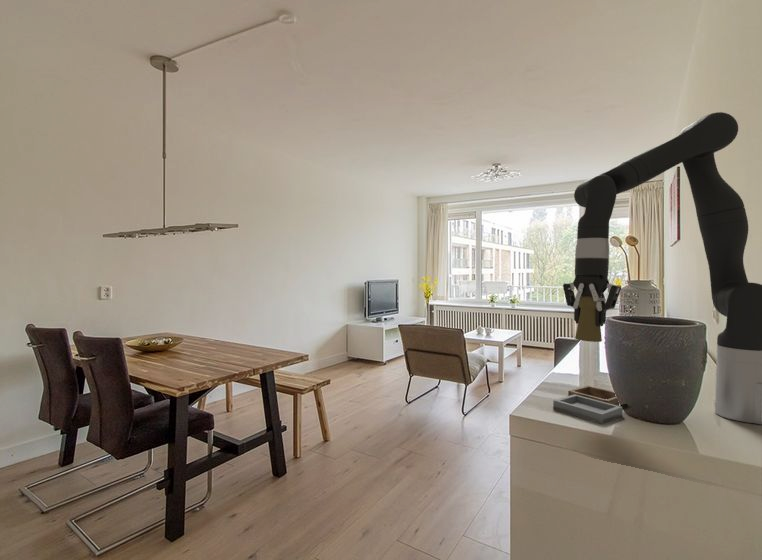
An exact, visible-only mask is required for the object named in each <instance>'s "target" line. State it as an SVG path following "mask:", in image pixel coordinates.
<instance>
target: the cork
mask: <svg viewBox="0 0 762 560" xmlns="http://www.w3.org/2000/svg"><path fill="white" fill-rule="evenodd" d="M601 303H602V302H601ZM596 305H597V303H596V302H594V300H593V297H589V296H585V297H581V298H580V300H579V307H580V308H581V310H580V316H579V321H578V324H577V327H576V331H575V337H574V339H575V340H578V341H582V342H583V341H585V342H593V343H601V342H603V339H602V330H601V327H602V326H596V311H598V310H597V307H596Z"/></svg>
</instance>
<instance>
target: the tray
mask: <svg viewBox="0 0 762 560" xmlns="http://www.w3.org/2000/svg"><path fill="white" fill-rule="evenodd" d="M555 409H556V410H555ZM553 410H555V411H558V410H559V411H558V412H562V413H565V414H569V415H571V416H576V417H578V418H581V419H583V420H584V419H585V420H588V421H592V422H594V423H597V424H600V425H603V424H606V423H608V422H610V421H613V420H617V419H618V417H619V418H621V417H623V406H617V405H613V404H609V403H606V402H602V401H598V400H594V399H590V398H587V397H583V396H579V395H575V394H574V395H570V396H568V395H567V396H564V397H561V398H558V399H553ZM620 416H621V417H620Z"/></svg>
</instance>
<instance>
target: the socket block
mask: <svg viewBox="0 0 762 560" xmlns="http://www.w3.org/2000/svg"><path fill="white" fill-rule="evenodd" d="M614 392H615V391H612V390H609V389H604V388H600V387H596V386H592V385H585V386H582V387H577V388H573V389H569V390H568V395H567V396H570V395H574V394H575V395H579V396H583V397H587V398H590V399H594V400H598V401H602V402H606V403H609V404H613V405H617V406H619V402H618V399H617V398H616V396H615V393H614ZM602 398H603V399H602ZM606 399H607V400H606Z"/></svg>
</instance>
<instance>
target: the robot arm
mask: <svg viewBox="0 0 762 560" xmlns="http://www.w3.org/2000/svg"><path fill="white" fill-rule="evenodd" d="M738 132H739V124H738V121H737V120H736V119H735V117H734V116H732V115H731V114H729V113H727V112H722V111H720V112H718V111H717V112H712V113H709V114H707V115H705V116H702V117H701V118H699V119H697V120H695V121H694V122H692V123H691V124H688V125H687V126H685V127H683V129H681V131H680V132H679V133H678V135H677V136H675V137H674V138H671V139H669V140H667V141H666V142H663V143H661V144H659V145H657V146H654V147H652V148H650V149H648V150H646V151H644V152H641V153H639V154H637V155H634V156H632V157H631V158H629V159H626V160H624V161H622V162H621V163H619V164H617V165H615V166H614V167H613V168H610V169H609V170H607V171H605V172H602V173H601V174H600V173H599V174H598V175H595V176H593V177H591V178H589V179H587V180H585V181H583V182H580V184H579V185H578V186H577V187H576V188H575V190H574V193H573V197H574V198H573V199H574V201H575V203H576V204H577V205H578V206H580V207H582V208H584V213H583V214H582V216H581V217H580V218H579V219H578V221H577V230H576V231H577V233H576V234H577V235H576V244H575V254H574V256H575V258H574V260H575V261H574V276H575V277H574V280H573V282H569V283H568V282H567V283H563V285H562V288H563V291H564V296H565V297H564V298H565V302H566V304H567V306H568V307H572V308H573V320H574V322H575V324H576V325H578V321H579V316H580V310H581V308H580V307H579V300H580V298H581V297H585V296H589V297H593V300H594V302H596V303H597V305H596V307H597V310H598V311H596V326H600V327H604V325H605V324H606V322H605V321H606V319H607V317H606V316H607V311H609V310H614V309H615V308H616V304H617V302H618V299H619V296H620V293H621V290H622V286H621V285H619V284H618V285H617V284H612V283H610V282H609V281H610V280H609V277H608V276H609V265H610V242H609V241H610V238H609V237H610V235H609V234H610V221H611V220H610V219H611V218H612V215H613V211H614V208H615V204H616V201H617V200H616V199H617V195H618V194H621V193H624V192H627V191H630V190H633V189H635V188H636V187H639V186H641V185H643V184H645V183H647V182H649V181H650V180H652V179H654V178H656V177H658V176H660V175H661V174H663V173H665V172H666V171H667V172H668V170H670V169H673V168H674V167H675V166H678V165H679V164H681V163H682V165H683V169H684V170H685V174H686V177H687V179H688V184H689V186H690V191H691V195H692V199H693V202H694V207H695V211H696V217H697V222H698V226H699V231H700V234H701V239H702V242H703V247H704V252H705V256H706V260H707V264H708V271H709V279H710V280H709V281H710V293H711V301H712V305H713V307H714V308H715V310H716V311H717V312H718V313H719V314H720V315H721V316H724V317H726V323H725V328H724V330H723V331H721V332H720V333H719V334H717V338H716V339H717V341H716V368H715V393H714V394H715V395H714V398H715V399H714V412H715V414H717V416H721V417H723V418H726V419H729V420H733V421H738V422H743V423H748V424H749V423H751V424H757V425H762V284H761V283H758V282H750V281H748V276H747V274H746V269H745V265H744V254H745V248H746V245H747V242H748V241H747V240H748V236H749V220H748V216H747V211H746V207H745V204H744V203H745V202H744V201H743V199H742V197H741V196H740V195H739V193H738V192H737V191H736V190H735V189H734V188H733V187H732V186H731V185H730V184H728V183H727V181H726V180H724V179H723V177H722V176H721V174H720V172H719V170H718V167H717V163H716V159H715V153H716V152H719V151H721V150H723V149H725V148H727V146H730V144H732V142H734V140H736V137H737V135H738ZM575 289H576V291H577V292H576V295H575V292H574V291H575ZM605 291H607V292H608V295H607V298H606V296H605ZM601 302H602V303H601Z"/></svg>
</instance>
